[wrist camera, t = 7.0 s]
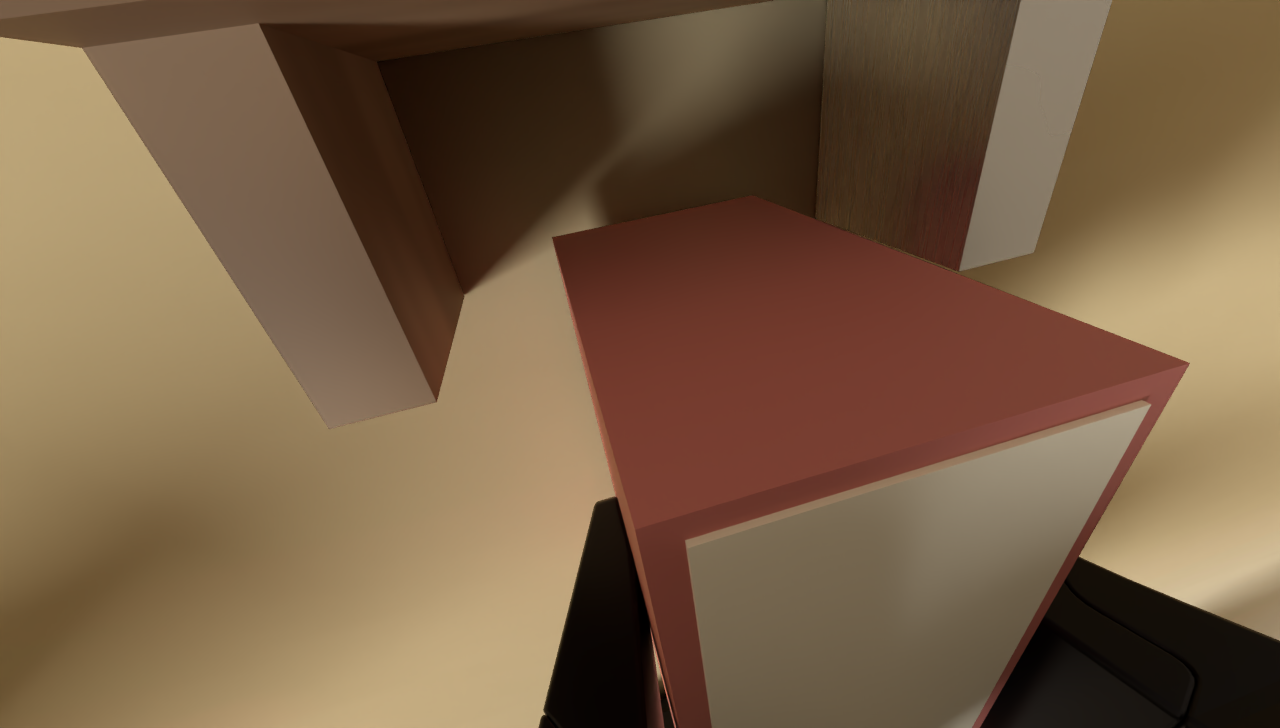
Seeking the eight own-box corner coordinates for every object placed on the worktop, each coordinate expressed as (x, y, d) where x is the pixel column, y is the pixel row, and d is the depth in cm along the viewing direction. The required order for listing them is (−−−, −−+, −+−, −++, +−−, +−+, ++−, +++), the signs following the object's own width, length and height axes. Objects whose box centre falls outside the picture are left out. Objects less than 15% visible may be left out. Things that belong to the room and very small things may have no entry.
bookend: (995, 177, 10) (1206, 209, 7) (815, 218, 9) (958, 271, 6) (1048, -42, 8) (1372, -132, 5) (827, -8, 7) (1041, -87, 4)
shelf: (869, 206, 9) (1112, 275, 6) (396, 311, 8) (291, 492, 4) (905, -120, 7) (1395, -405, 3) (232, -38, 6) (-348, -337, 2)
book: (757, 533, 13) (925, 831, 7) (634, 572, 12) (723, 915, 7) (752, 195, 8) (1199, 367, 3) (551, 237, 7) (636, 535, 2)
